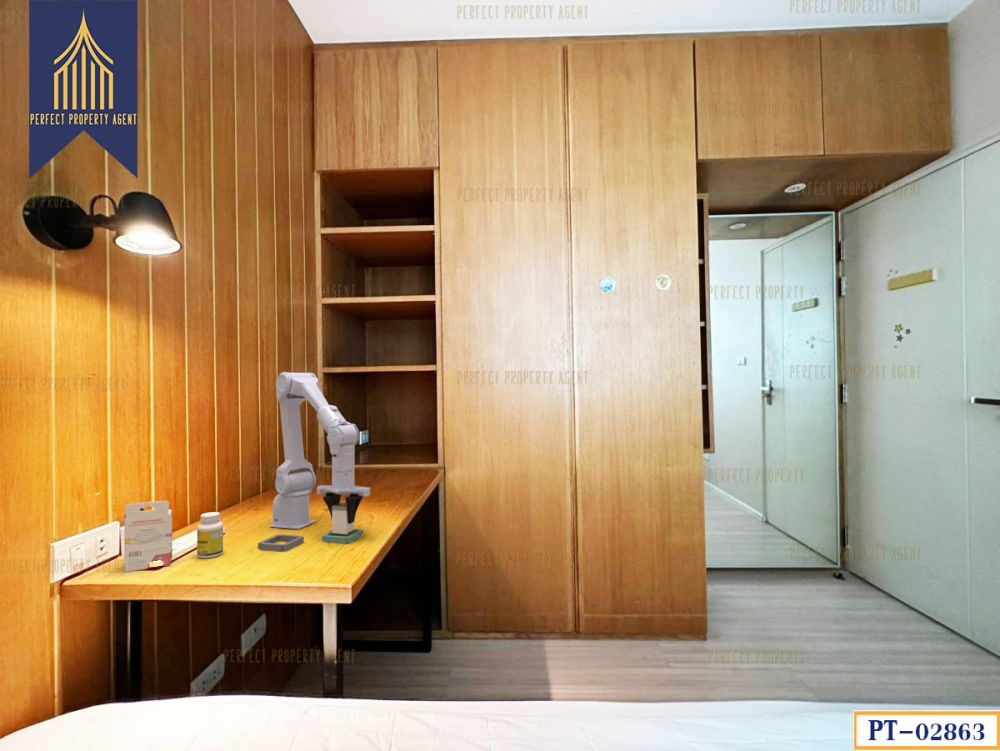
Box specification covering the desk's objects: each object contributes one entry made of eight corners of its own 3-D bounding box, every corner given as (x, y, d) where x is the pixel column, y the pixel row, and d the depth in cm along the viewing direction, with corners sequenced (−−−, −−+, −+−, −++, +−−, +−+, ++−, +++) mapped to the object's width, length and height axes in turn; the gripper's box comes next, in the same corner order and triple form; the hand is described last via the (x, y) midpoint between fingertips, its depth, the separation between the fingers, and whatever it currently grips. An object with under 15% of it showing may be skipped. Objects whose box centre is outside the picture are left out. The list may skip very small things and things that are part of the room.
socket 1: (256, 549, 125) (256, 543, 125) (278, 539, 133) (278, 533, 133) (284, 551, 123) (284, 545, 123) (304, 541, 131) (305, 536, 131)
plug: (331, 533, 133) (331, 506, 133) (340, 528, 137) (340, 502, 137) (346, 534, 132) (346, 507, 132) (354, 529, 136) (354, 503, 136)
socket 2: (320, 541, 131) (320, 536, 131) (337, 532, 139) (337, 527, 139) (348, 544, 129) (348, 538, 129) (364, 534, 137) (364, 529, 137)
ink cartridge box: (172, 559, 119) (173, 495, 119) (170, 566, 114) (170, 500, 114) (127, 565, 115) (128, 499, 115) (123, 572, 110) (123, 504, 110)
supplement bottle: (192, 556, 121) (192, 514, 121) (216, 549, 125) (216, 510, 125) (204, 560, 118) (204, 518, 118) (227, 554, 122) (227, 513, 122)
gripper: (310, 472, 132) (309, 524, 132) (360, 474, 129) (360, 528, 129) (325, 467, 139) (325, 517, 139) (373, 469, 136) (373, 520, 135)
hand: (343, 522), depth 134 cm, fingers closed on plug, 4 cm apart
